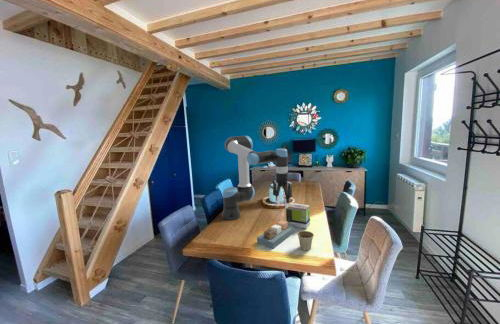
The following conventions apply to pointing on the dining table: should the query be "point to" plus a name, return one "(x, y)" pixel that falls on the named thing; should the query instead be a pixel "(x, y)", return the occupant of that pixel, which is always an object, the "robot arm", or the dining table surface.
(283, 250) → the dining table surface
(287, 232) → the grey slotted tray
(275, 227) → the cream key
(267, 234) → the walnut key
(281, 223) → the terracotta key
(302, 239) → the flower pot
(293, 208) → the tea box
